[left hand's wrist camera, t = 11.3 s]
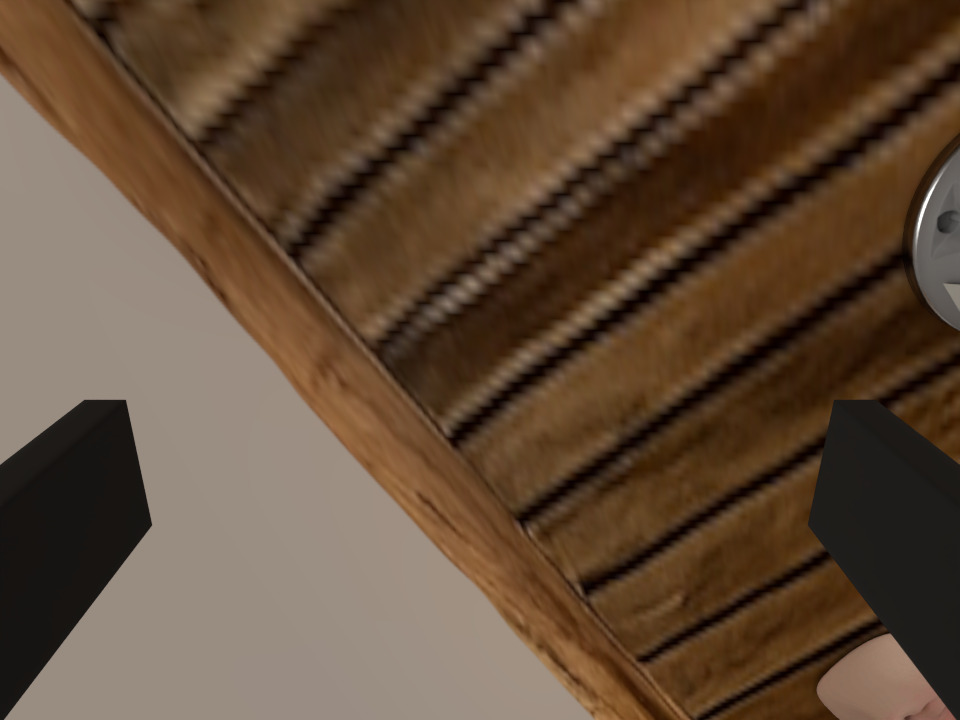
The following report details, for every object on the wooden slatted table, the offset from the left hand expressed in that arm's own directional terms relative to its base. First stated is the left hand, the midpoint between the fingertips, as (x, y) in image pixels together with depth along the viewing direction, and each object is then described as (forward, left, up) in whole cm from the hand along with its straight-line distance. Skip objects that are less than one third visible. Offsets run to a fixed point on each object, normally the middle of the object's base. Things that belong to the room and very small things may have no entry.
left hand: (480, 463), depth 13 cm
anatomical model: (0, +53, -32) cm, 61 cm away
